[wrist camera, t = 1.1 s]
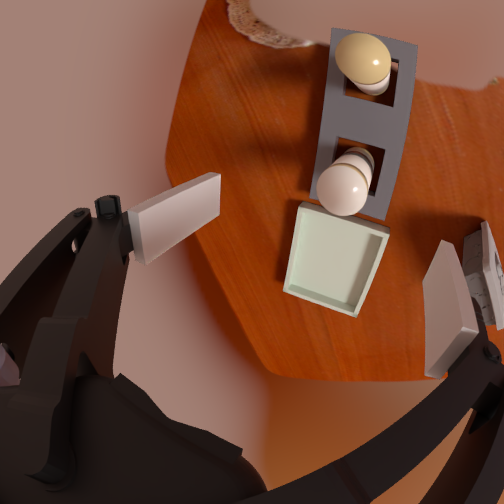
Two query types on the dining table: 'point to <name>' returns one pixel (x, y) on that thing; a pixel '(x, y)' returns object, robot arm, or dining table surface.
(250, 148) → the dining table surface
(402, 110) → the fuse block
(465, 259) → the electrical switch
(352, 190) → the fuse
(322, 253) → the parts tray
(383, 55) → the fuse
